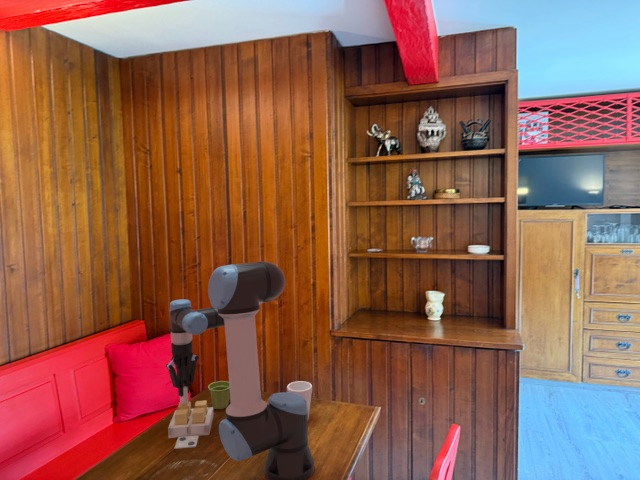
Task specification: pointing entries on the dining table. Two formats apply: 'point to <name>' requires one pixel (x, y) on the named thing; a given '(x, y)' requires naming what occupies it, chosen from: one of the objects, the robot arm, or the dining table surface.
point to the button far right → (201, 405)
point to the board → (191, 426)
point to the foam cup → (301, 391)
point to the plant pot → (219, 394)
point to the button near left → (181, 417)
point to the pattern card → (186, 442)
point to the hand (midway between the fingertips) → (184, 403)
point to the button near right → (198, 415)
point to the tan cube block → (185, 407)
